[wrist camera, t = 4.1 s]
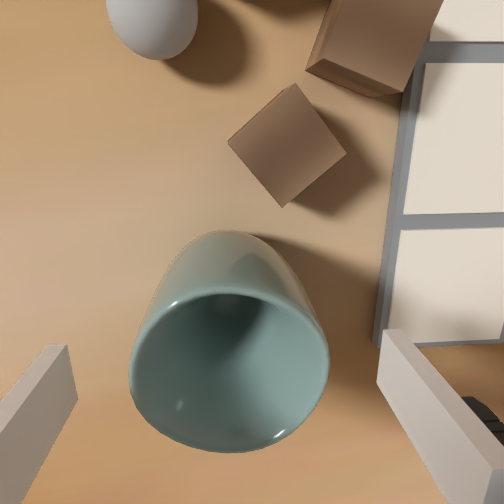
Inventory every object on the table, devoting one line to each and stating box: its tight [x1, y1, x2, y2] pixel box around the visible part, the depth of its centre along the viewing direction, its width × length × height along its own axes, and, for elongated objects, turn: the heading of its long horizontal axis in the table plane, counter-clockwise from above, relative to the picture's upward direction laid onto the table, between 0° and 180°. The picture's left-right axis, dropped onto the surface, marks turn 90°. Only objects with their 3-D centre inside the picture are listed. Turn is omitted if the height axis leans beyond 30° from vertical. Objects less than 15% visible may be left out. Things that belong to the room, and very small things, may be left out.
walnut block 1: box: [228, 83, 347, 208], centre depth 19 cm, size 4×4×4 cm
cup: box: [128, 230, 330, 453], centre depth 18 cm, size 8×8×10 cm
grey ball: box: [106, 0, 198, 60], centre depth 16 cm, size 4×4×4 cm
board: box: [372, 0, 504, 349], centre depth 21 cm, size 27×12×1 cm, turn 0°
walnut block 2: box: [305, 0, 444, 98], centre depth 17 cm, size 4×4×4 cm
